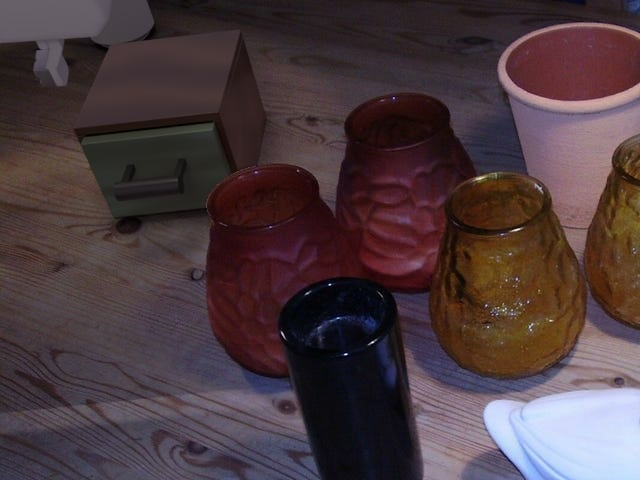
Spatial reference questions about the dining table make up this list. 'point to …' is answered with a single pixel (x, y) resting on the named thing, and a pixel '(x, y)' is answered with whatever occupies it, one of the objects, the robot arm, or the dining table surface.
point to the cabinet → (179, 92)
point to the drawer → (157, 167)
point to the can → (126, 23)
